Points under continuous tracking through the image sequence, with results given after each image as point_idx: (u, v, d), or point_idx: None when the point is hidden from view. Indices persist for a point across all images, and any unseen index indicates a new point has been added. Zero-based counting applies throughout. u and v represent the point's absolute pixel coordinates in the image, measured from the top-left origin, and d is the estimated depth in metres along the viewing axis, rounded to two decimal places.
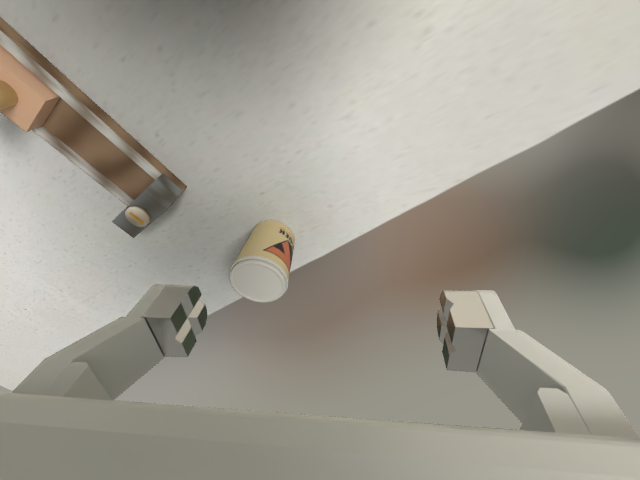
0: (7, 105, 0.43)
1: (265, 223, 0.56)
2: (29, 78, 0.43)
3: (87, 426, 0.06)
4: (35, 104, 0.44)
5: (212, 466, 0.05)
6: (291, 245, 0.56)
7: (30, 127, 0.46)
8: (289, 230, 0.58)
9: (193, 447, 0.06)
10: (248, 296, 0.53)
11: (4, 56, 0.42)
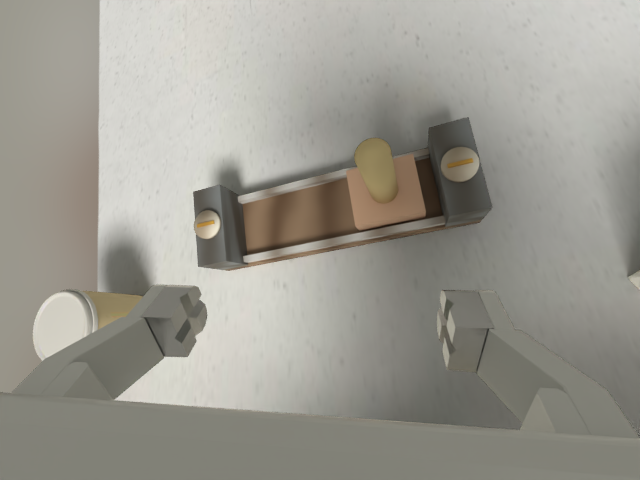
0: None
1: None
2: (383, 222, 0.38)
3: (87, 426, 0.06)
4: (358, 211, 0.38)
5: (212, 466, 0.05)
6: None
7: None
8: None
9: (193, 447, 0.06)
10: (52, 300, 0.40)
11: (411, 217, 0.38)
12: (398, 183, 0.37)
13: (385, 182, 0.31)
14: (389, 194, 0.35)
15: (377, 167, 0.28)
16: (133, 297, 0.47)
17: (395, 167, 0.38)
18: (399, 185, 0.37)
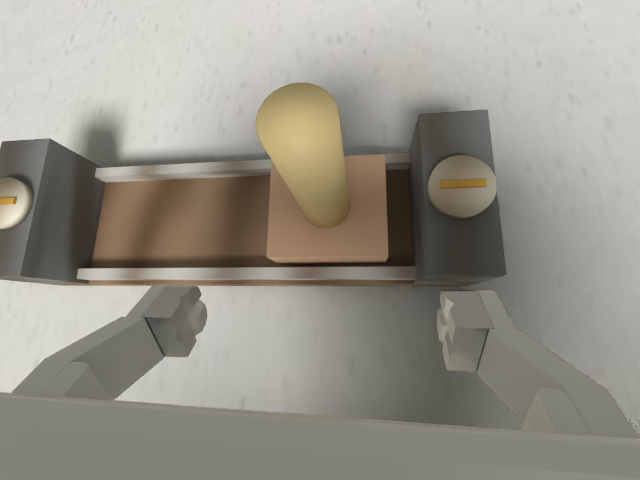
0: None
1: None
2: (316, 259, 0.23)
3: (87, 426, 0.06)
4: (277, 233, 0.22)
5: (212, 466, 0.05)
6: None
7: None
8: None
9: (193, 447, 0.06)
10: None
11: (363, 259, 0.22)
12: (352, 198, 0.22)
13: (320, 189, 0.15)
14: (331, 215, 0.19)
15: (301, 149, 0.12)
16: None
17: (352, 171, 0.22)
18: (353, 202, 0.22)
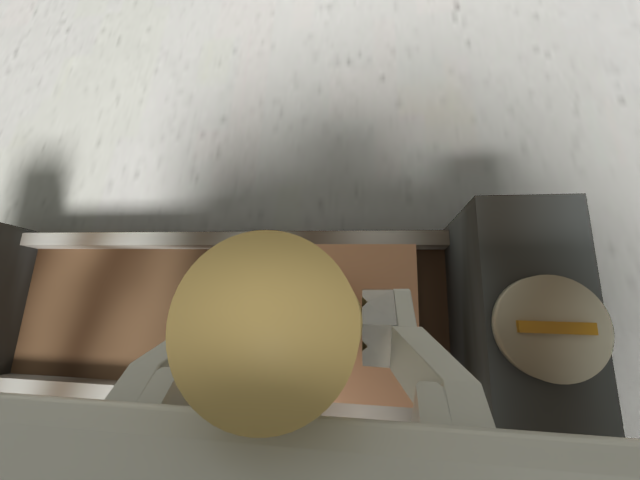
0: None
1: None
2: None
3: (87, 426, 0.06)
4: None
5: (212, 466, 0.05)
6: None
7: None
8: None
9: (193, 447, 0.06)
10: None
11: None
12: None
13: None
14: None
15: (267, 413, 0.05)
16: None
17: (367, 267, 0.15)
18: None
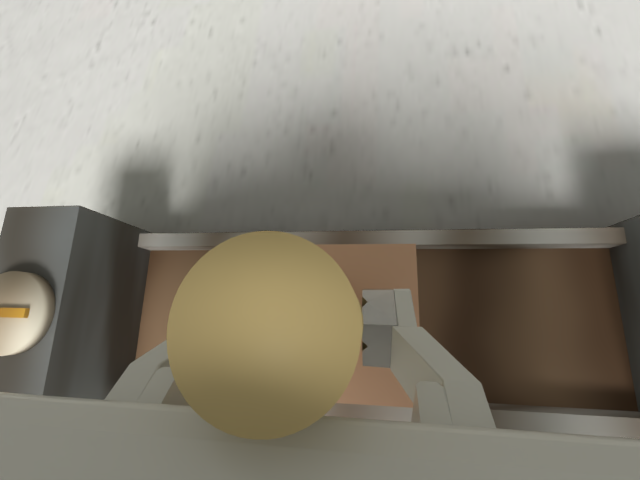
0: None
1: None
2: None
3: (87, 426, 0.06)
4: None
5: (212, 466, 0.05)
6: None
7: None
8: None
9: (193, 447, 0.06)
10: None
11: None
12: None
13: None
14: None
15: (269, 414, 0.05)
16: None
17: (367, 267, 0.15)
18: None
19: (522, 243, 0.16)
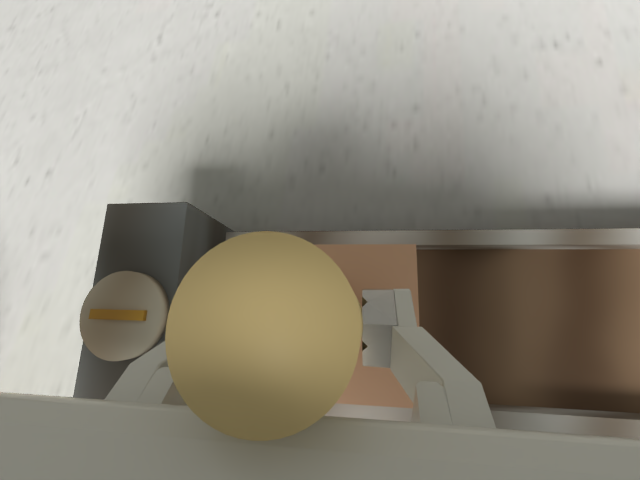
0: None
1: None
2: None
3: (87, 426, 0.06)
4: None
5: (212, 466, 0.05)
6: None
7: None
8: None
9: (193, 447, 0.06)
10: None
11: None
12: None
13: None
14: None
15: (267, 415, 0.05)
16: None
17: (367, 267, 0.15)
18: None
19: None
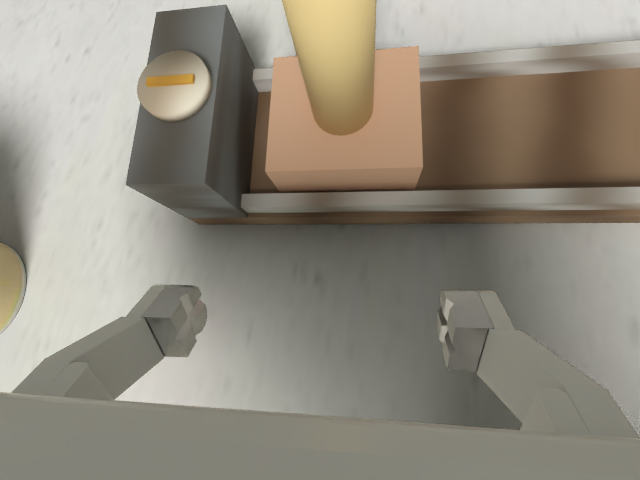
0: None
1: None
2: (327, 180, 0.18)
3: (88, 426, 0.06)
4: (279, 143, 0.17)
5: (212, 466, 0.05)
6: None
7: None
8: None
9: (193, 447, 0.06)
10: None
11: (388, 179, 0.17)
12: (375, 99, 0.17)
13: (341, 19, 0.10)
14: (351, 102, 0.14)
15: None
16: None
17: (376, 67, 0.17)
18: (377, 104, 0.17)
19: (623, 53, 0.18)
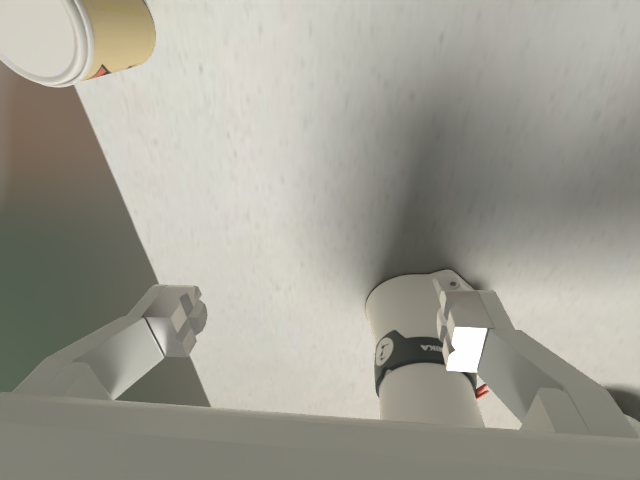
0: None
1: (150, 41, 0.34)
2: None
3: (87, 426, 0.06)
4: None
5: (212, 466, 0.05)
6: None
7: None
8: None
9: (193, 447, 0.06)
10: None
11: None
12: None
13: None
14: None
15: None
16: None
17: None
18: None
19: None
